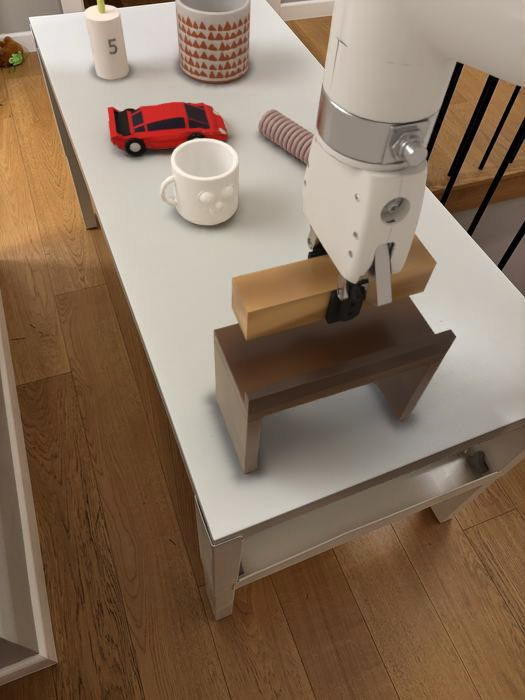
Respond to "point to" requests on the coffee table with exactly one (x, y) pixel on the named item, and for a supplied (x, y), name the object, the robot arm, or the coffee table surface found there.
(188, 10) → the planter
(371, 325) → the shelf
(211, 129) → the toy car
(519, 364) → the coffee table surface
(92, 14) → the candle
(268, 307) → the stick
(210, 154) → the mug
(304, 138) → the coil
